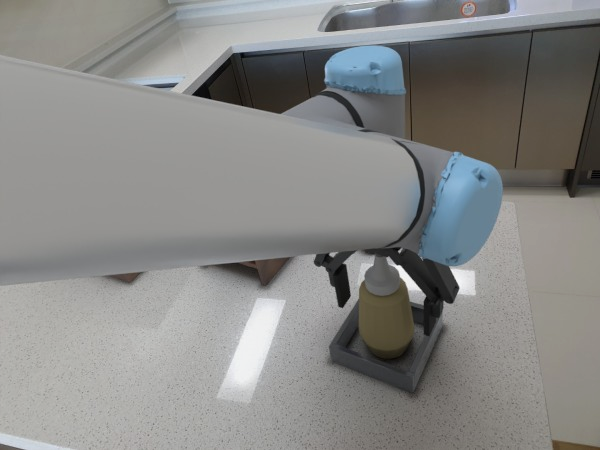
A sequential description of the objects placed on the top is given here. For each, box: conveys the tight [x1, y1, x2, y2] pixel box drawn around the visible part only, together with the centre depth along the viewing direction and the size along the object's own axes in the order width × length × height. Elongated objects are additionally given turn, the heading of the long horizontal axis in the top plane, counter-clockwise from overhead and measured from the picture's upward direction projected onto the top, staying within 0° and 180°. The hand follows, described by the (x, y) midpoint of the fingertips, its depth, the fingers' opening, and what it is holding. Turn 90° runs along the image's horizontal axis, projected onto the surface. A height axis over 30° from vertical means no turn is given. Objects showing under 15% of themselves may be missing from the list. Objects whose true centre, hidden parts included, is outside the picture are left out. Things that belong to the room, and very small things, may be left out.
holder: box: [328, 298, 444, 394], centre depth 68 cm, size 13×13×4 cm
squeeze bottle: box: [358, 253, 416, 360], centre depth 64 cm, size 8×8×18 cm
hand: (385, 314), depth 66 cm, fingers open, 12 cm apart
